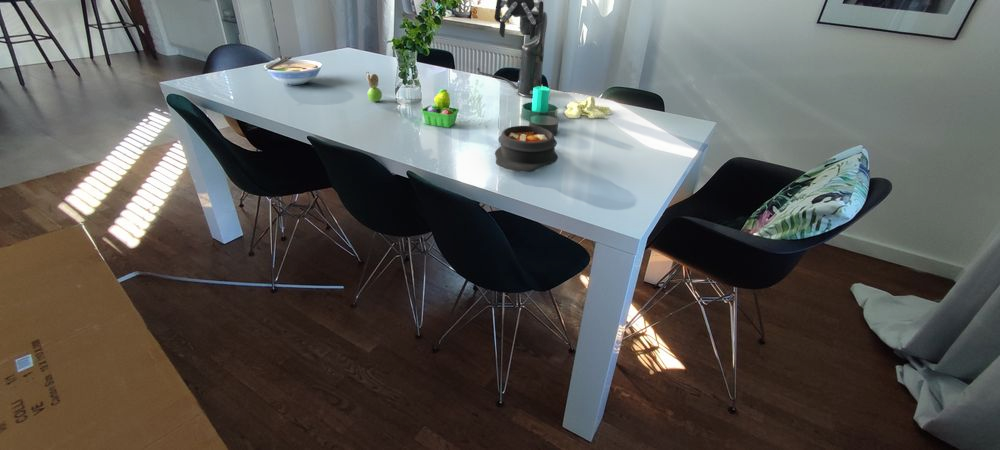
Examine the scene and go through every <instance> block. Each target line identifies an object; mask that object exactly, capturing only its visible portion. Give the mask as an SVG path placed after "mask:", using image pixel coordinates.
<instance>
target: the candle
mask: <svg viewBox="0 0 1000 450" xmlns="http://www.w3.org/2000/svg"><path fill="white" fill-rule="evenodd" d="M550 92H551V88H550V87H547V86H543V85H541V86H538V87H535V88H534V89H533V97H532V101H531V102H532V111H535V112H548V105H549V104H550Z"/></svg>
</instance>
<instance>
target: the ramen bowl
mask: <svg viewBox="0 0 1000 450" xmlns="http://www.w3.org/2000/svg"><path fill="white" fill-rule="evenodd" d="M322 66H323V64H322V63H321V62H319V61H314V60H310V59H309V60H307V59H292V56H289V57H288V56H285V57H283V58H281V59H280V60H277V61H272V62H269V63H266V64H265V65H264V66H263V67H264V70H265V71H267V73H268V74H269V75H270V76H271V77H272V78H273V79H274V80H277V81H279V82H281V83H285V84H287V85H291V86H299V85H304V84H306V83H308V82H310V81H312V80H314V79H315V78H316V77H317V76H318V74H319V72H320V71H321V69H322Z"/></svg>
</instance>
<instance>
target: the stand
mask: <svg viewBox="0 0 1000 450" xmlns="http://www.w3.org/2000/svg"><path fill="white" fill-rule="evenodd" d="M559 124H560V119H558V117H557V118H554V117H551V116H544V115H538V116H532V117H530V118H529V121H528V126H533V127H539V128H543V129H546V130H548V131H550V132H552V133H553V135H554V136H556V135H557V134H558V130H559Z"/></svg>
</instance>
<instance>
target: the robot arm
mask: <svg viewBox="0 0 1000 450" xmlns="http://www.w3.org/2000/svg"><path fill="white" fill-rule="evenodd" d="M495 4H496V5H495V11H494V20H495V22H497V23H499V30H498V31H499V32H498V33H499V35H500V36H501V38H505V34H506V23H507V22H508V20H510V19H511V18H512V17H514V18H519V31H520V33H521V35H523V36H529V41H530V40H531V42H527V43H524V44H523V45H522V46H521V57H520V70H519V72H518V81H517V85H515V84H514V82H512V81H511V80H509V79H508V78H506V77H502V76H499V75H494V74H490V73H486V72H482V71H480V67H477V68H476V71H477V72H478V74H480V75H484V76H489V77H492V78H497V79H501V80H503V81H506V82H508V83H509V84H510V85H511V86H512V87H513V88H514V89H517V93H518V95H519V96H522V97H524V98H533V89H534V88H535V87H538V86H542V78H543V69H544V68H543V67H544V58H545V57H544V56H545V55H544V54H545V44H546V35H547V29H548V14H547V11H544V10H545V9H544V8H545V7H544V6H545V4H544V1H542V0H541V1H539V2H535V0H496V3H495ZM505 6H506V8H507V10H506V11H505V12H504V14H503V15H502V16H501V13H502V9H503V8H504V7H505ZM534 9H536V10H534ZM534 38H536V39H534ZM533 39H534V40H533ZM532 40H533V41H532Z"/></svg>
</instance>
